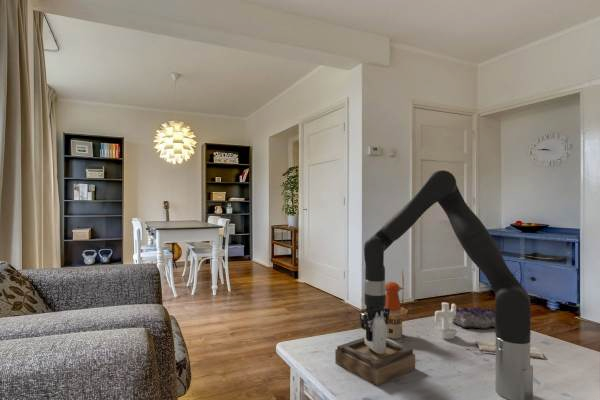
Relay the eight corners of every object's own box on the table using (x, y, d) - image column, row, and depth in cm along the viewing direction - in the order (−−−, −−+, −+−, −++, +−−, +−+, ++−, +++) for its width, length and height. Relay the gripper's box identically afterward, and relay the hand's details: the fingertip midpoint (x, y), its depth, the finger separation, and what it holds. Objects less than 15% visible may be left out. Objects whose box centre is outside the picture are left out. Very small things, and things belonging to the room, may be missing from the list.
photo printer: (387, 353, 124) (387, 318, 124) (376, 355, 123) (376, 319, 123) (373, 342, 134) (373, 309, 134) (362, 343, 132) (362, 310, 133)
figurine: (431, 334, 159) (431, 300, 159) (450, 333, 160) (450, 300, 160) (439, 340, 152) (439, 305, 152) (460, 339, 153) (460, 304, 153)
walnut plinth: (415, 368, 126) (415, 350, 126) (377, 385, 114) (377, 365, 114) (372, 349, 142) (372, 333, 142) (335, 363, 130) (335, 345, 130)
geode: (489, 321, 177) (491, 302, 175) (502, 333, 165) (504, 313, 164) (448, 319, 177) (450, 300, 175) (458, 331, 165) (460, 311, 164)
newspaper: (480, 354, 139) (480, 348, 140) (475, 346, 151) (475, 340, 151) (548, 363, 132) (547, 356, 132) (537, 353, 143) (537, 346, 144)
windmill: (415, 344, 148) (416, 272, 148) (381, 344, 147) (381, 272, 148) (403, 329, 165) (403, 264, 165) (372, 329, 165) (373, 264, 165)
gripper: (369, 297, 121) (369, 347, 121) (396, 291, 130) (396, 337, 129) (353, 292, 127) (353, 340, 127) (380, 287, 136) (380, 331, 135)
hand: (375, 338), depth 128 cm, fingers closed on photo printer, 5 cm apart
